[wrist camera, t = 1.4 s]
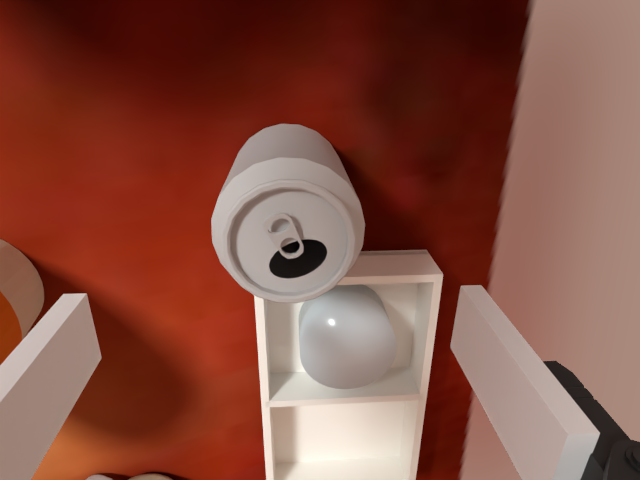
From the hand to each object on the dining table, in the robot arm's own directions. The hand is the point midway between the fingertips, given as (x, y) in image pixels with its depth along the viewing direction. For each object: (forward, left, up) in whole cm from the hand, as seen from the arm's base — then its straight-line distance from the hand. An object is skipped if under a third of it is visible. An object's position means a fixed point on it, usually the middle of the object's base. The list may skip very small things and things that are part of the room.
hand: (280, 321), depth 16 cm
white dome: (+11, +4, -16) cm, 20 cm away
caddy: (+16, +4, -17) cm, 24 cm away
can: (-1, 0, -17) cm, 17 cm away
